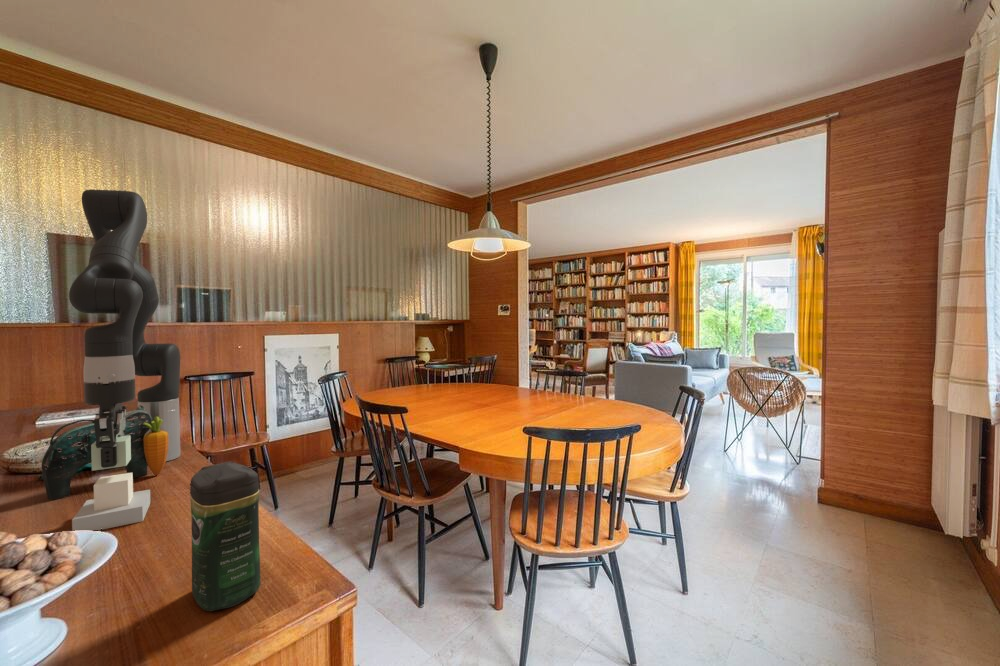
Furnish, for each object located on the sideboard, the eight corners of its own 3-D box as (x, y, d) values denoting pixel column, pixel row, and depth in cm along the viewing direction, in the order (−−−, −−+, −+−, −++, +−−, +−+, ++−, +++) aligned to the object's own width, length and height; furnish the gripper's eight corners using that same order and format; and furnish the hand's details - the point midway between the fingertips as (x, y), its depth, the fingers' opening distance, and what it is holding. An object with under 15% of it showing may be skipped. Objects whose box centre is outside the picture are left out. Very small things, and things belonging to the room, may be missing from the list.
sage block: (98, 463, 85) (97, 439, 85) (131, 459, 88) (130, 435, 87) (91, 470, 81) (91, 445, 81) (126, 465, 83) (125, 441, 83)
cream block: (100, 501, 85) (100, 477, 85) (133, 495, 88) (132, 472, 88) (94, 510, 81) (93, 485, 81) (128, 504, 84) (127, 480, 84)
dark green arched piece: (147, 470, 112) (145, 395, 111) (159, 474, 109) (156, 397, 108) (39, 498, 94) (36, 409, 94) (50, 504, 91) (46, 412, 90)
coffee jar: (268, 593, 61) (266, 467, 61) (204, 622, 55) (201, 483, 55) (246, 567, 68) (243, 453, 67) (186, 591, 62) (183, 466, 61)
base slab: (87, 514, 86) (87, 500, 86) (150, 502, 91) (150, 489, 91) (72, 535, 78) (72, 519, 78) (142, 521, 83) (142, 506, 83)
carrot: (158, 479, 105) (156, 420, 105) (139, 479, 105) (137, 419, 105) (174, 472, 110) (172, 415, 110) (155, 471, 110) (154, 415, 110)
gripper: (94, 375, 88) (96, 456, 88) (72, 384, 76) (75, 477, 76) (140, 373, 92) (142, 450, 92) (127, 381, 80) (130, 469, 80)
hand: (112, 462), depth 84 cm, fingers closed on sage block, 5 cm apart
